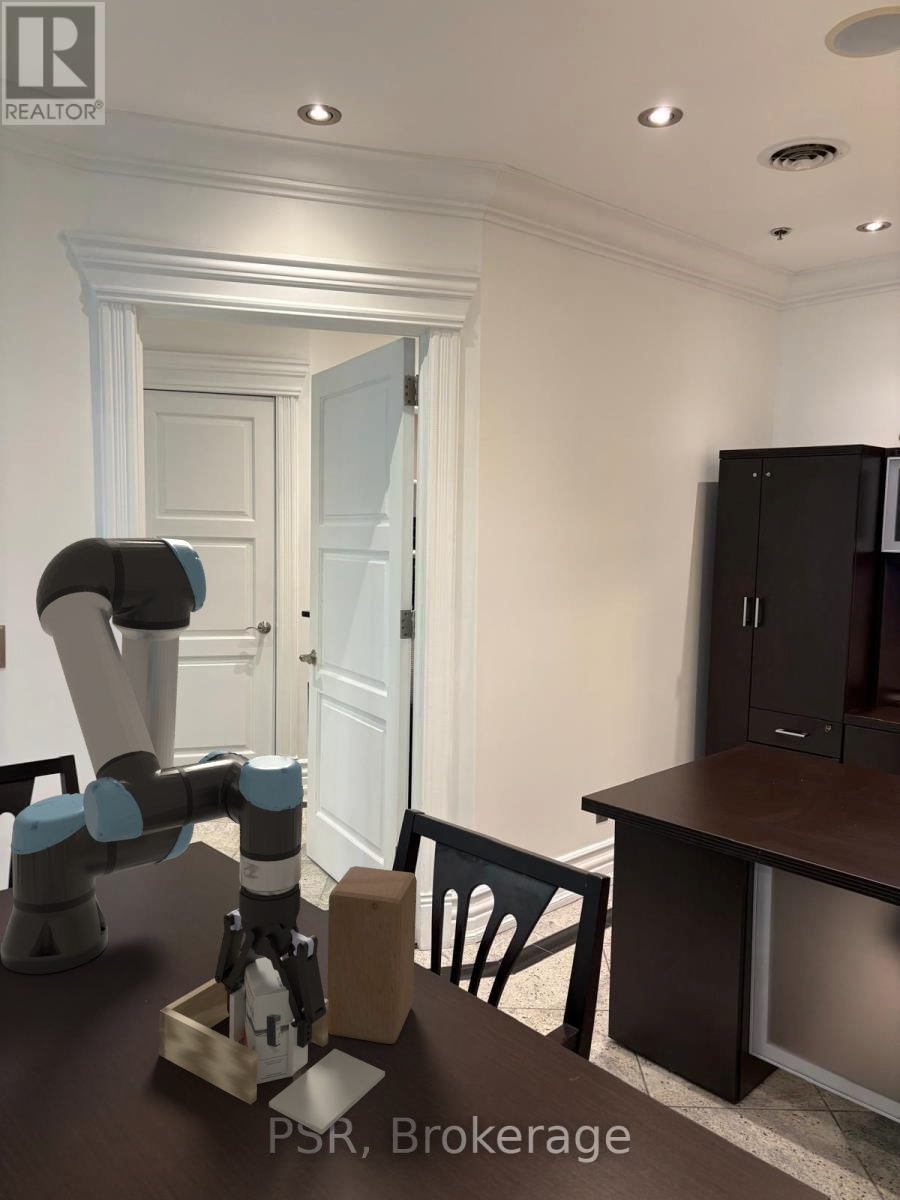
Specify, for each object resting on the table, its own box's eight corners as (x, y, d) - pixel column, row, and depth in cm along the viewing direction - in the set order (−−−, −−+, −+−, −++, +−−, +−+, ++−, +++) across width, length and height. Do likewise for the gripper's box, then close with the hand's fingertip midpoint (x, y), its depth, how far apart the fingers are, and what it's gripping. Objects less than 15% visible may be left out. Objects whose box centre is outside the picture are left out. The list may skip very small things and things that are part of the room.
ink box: (242, 1044, 109) (243, 958, 108) (280, 1036, 111) (281, 952, 110) (253, 1086, 102) (254, 994, 100) (294, 1077, 104) (295, 986, 102)
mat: (269, 1106, 98) (269, 1101, 98) (334, 1052, 108) (334, 1048, 108) (321, 1134, 94) (321, 1129, 94) (384, 1076, 104) (384, 1071, 104)
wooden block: (395, 1048, 110) (400, 902, 108) (323, 1036, 112) (326, 892, 110) (414, 1005, 120) (418, 870, 118) (347, 995, 122) (350, 862, 120)
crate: (159, 1055, 107) (159, 1010, 106) (240, 1002, 119) (240, 962, 118) (250, 1104, 98) (251, 1056, 98) (327, 1043, 110) (328, 1000, 110)
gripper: (185, 870, 107) (184, 1036, 109) (318, 919, 95) (314, 1103, 97) (229, 851, 113) (228, 1009, 115) (359, 895, 102) (355, 1068, 104)
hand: (267, 1052), depth 106 cm, fingers closed on ink box, 9 cm apart
